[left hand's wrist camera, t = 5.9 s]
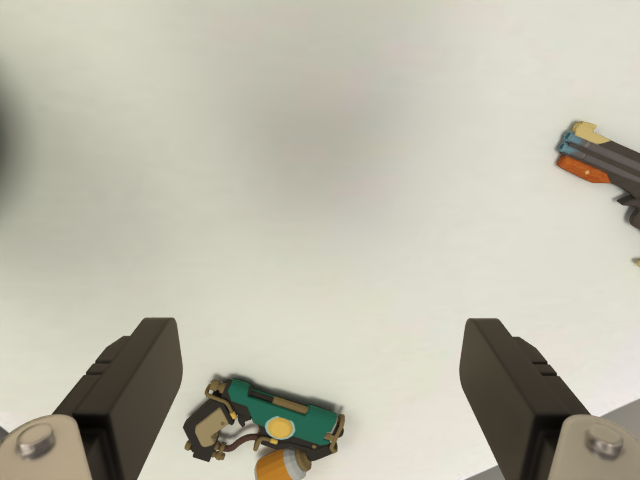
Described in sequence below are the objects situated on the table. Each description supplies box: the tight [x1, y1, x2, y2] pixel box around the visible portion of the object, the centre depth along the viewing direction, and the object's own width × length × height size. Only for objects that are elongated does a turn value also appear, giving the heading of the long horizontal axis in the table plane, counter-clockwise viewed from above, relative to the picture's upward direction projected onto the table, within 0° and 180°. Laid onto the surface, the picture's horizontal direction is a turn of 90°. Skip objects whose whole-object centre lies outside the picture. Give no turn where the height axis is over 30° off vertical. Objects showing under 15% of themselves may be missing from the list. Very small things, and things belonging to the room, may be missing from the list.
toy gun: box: [557, 121, 640, 267], centre depth 39 cm, size 3×19×10 cm
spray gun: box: [183, 378, 345, 480], centre depth 48 cm, size 4×17×15 cm
